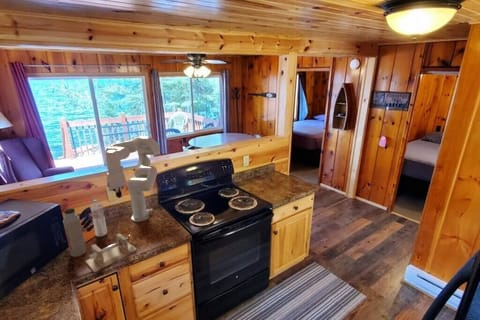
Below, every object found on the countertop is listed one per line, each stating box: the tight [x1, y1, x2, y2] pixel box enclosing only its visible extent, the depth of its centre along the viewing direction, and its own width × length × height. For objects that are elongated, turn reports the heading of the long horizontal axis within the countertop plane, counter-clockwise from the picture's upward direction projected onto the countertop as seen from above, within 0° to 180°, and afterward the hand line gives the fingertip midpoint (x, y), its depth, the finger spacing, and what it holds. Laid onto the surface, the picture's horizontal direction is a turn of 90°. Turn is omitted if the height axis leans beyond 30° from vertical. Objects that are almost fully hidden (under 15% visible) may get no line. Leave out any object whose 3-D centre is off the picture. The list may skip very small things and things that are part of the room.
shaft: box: [88, 233, 134, 259], centre depth 148 cm, size 24×4×4 cm, turn 140°
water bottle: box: [90, 199, 108, 238], centre depth 167 cm, size 7×7×25 cm
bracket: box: [84, 233, 137, 273], centre depth 147 cm, size 24×12×10 cm, turn 140°
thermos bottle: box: [62, 208, 87, 258], centre depth 148 cm, size 8×8×28 cm
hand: (119, 197), depth 162 cm, fingers closed
